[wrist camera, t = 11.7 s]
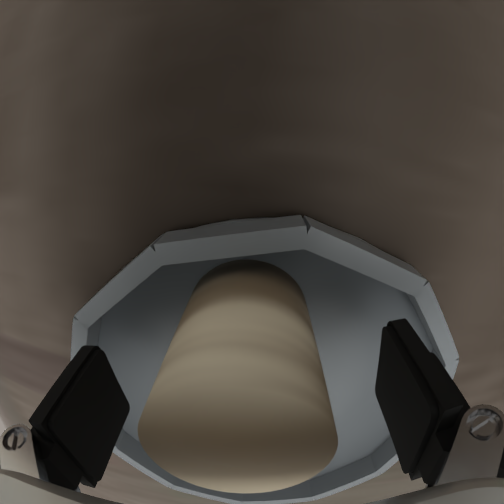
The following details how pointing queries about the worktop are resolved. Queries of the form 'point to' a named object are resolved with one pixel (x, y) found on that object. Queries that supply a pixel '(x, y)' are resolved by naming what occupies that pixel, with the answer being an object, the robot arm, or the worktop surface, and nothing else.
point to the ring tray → (322, 319)
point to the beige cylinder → (241, 387)
